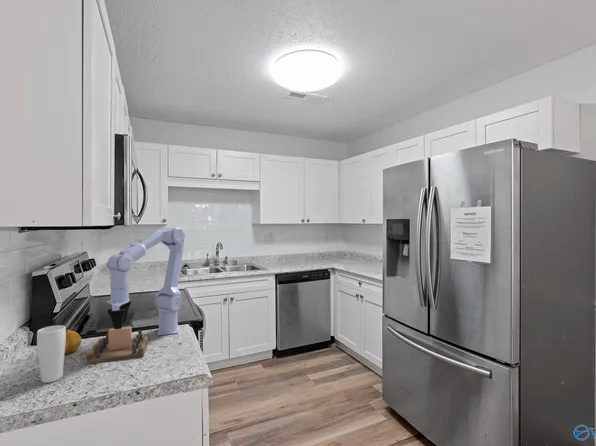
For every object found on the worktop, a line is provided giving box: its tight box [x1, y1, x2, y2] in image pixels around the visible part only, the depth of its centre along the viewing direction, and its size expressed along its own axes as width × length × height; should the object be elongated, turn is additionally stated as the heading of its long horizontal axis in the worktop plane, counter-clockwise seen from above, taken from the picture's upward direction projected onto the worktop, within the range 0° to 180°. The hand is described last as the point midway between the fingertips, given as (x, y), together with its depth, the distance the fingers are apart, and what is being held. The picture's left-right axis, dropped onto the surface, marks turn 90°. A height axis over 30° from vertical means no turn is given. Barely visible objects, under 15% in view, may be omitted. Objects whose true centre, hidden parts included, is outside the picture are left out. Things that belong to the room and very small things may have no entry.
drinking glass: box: [36, 324, 67, 384], centre depth 94 cm, size 7×7×15 cm
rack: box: [85, 329, 150, 365], centre depth 114 cm, size 16×17×5 cm
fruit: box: [65, 329, 82, 355], centre depth 114 cm, size 8×8×8 cm
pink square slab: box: [107, 326, 133, 350], centre depth 114 cm, size 2×7×7 cm, turn 108°
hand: (120, 325), depth 114 cm, fingers open, 7 cm apart
